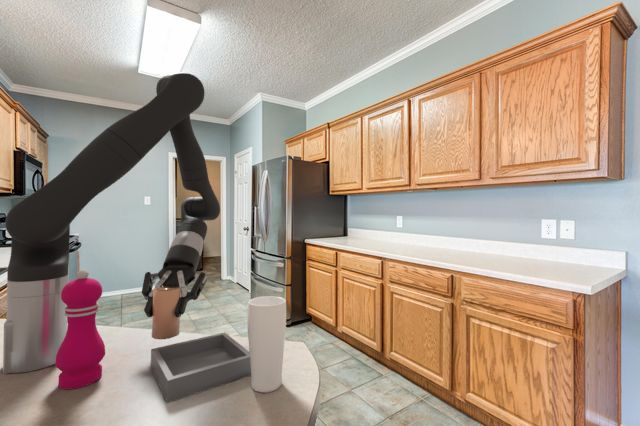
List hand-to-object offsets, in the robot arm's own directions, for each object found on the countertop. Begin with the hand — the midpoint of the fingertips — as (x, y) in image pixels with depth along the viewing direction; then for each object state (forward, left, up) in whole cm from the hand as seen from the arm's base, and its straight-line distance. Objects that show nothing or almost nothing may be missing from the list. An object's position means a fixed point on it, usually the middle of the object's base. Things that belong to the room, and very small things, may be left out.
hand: (163, 315), depth 66 cm
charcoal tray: (+5, -11, -9) cm, 15 cm away
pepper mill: (-14, -2, -9) cm, 17 cm away
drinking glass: (+12, -24, -9) cm, 28 cm away
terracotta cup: (+1, +1, -5) cm, 5 cm away
